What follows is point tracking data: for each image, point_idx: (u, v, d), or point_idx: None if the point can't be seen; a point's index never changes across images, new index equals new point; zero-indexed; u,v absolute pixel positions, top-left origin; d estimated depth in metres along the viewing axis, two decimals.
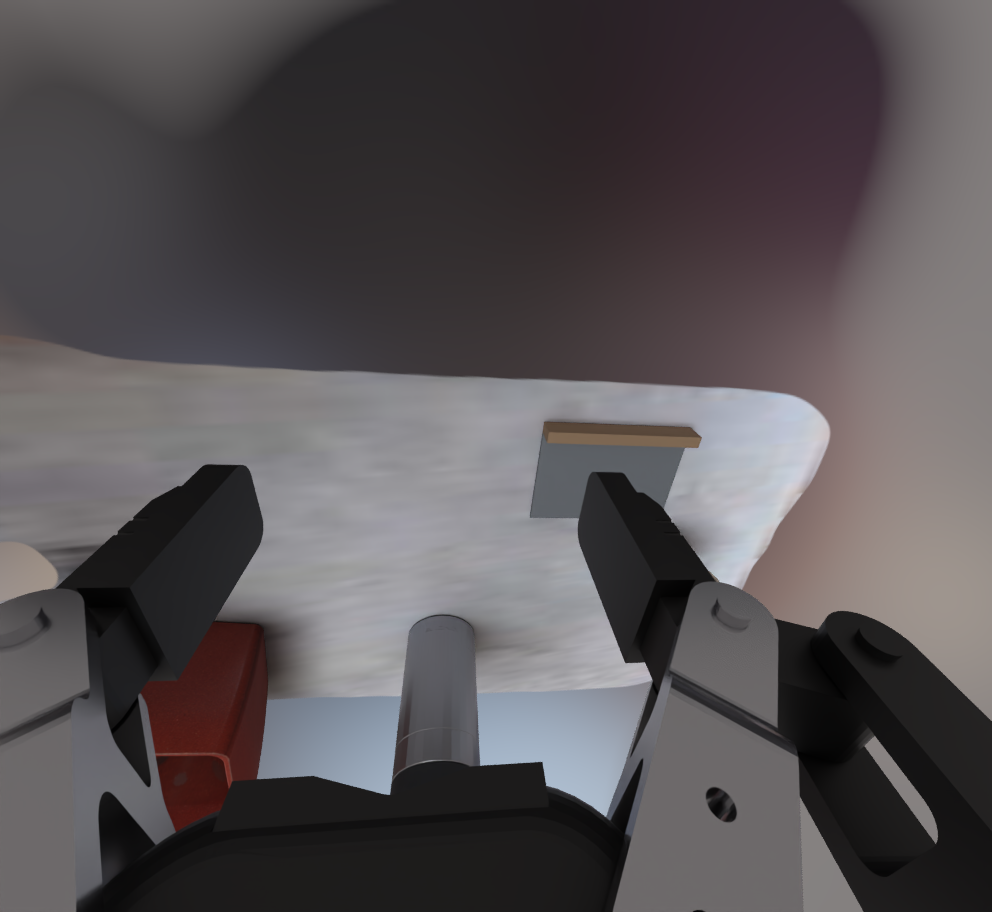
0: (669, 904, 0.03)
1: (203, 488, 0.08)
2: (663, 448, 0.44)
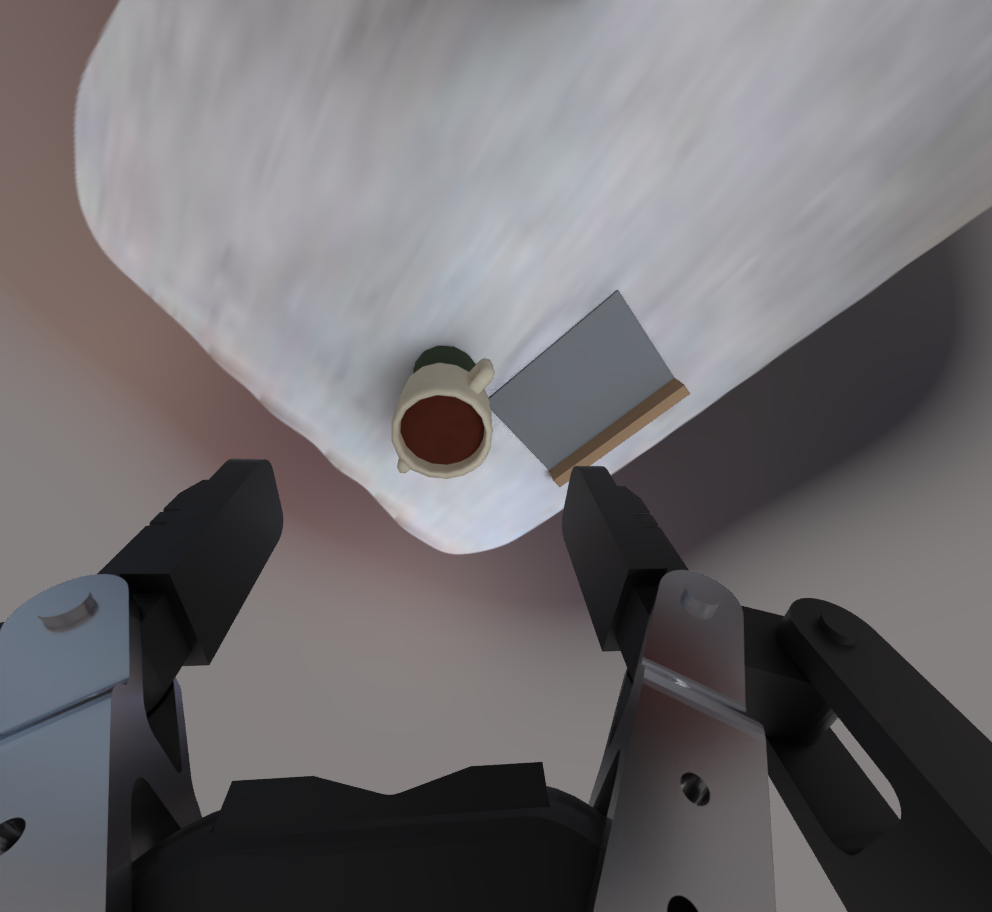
0: (649, 893, 0.03)
1: (230, 481, 0.08)
2: (559, 449, 0.44)
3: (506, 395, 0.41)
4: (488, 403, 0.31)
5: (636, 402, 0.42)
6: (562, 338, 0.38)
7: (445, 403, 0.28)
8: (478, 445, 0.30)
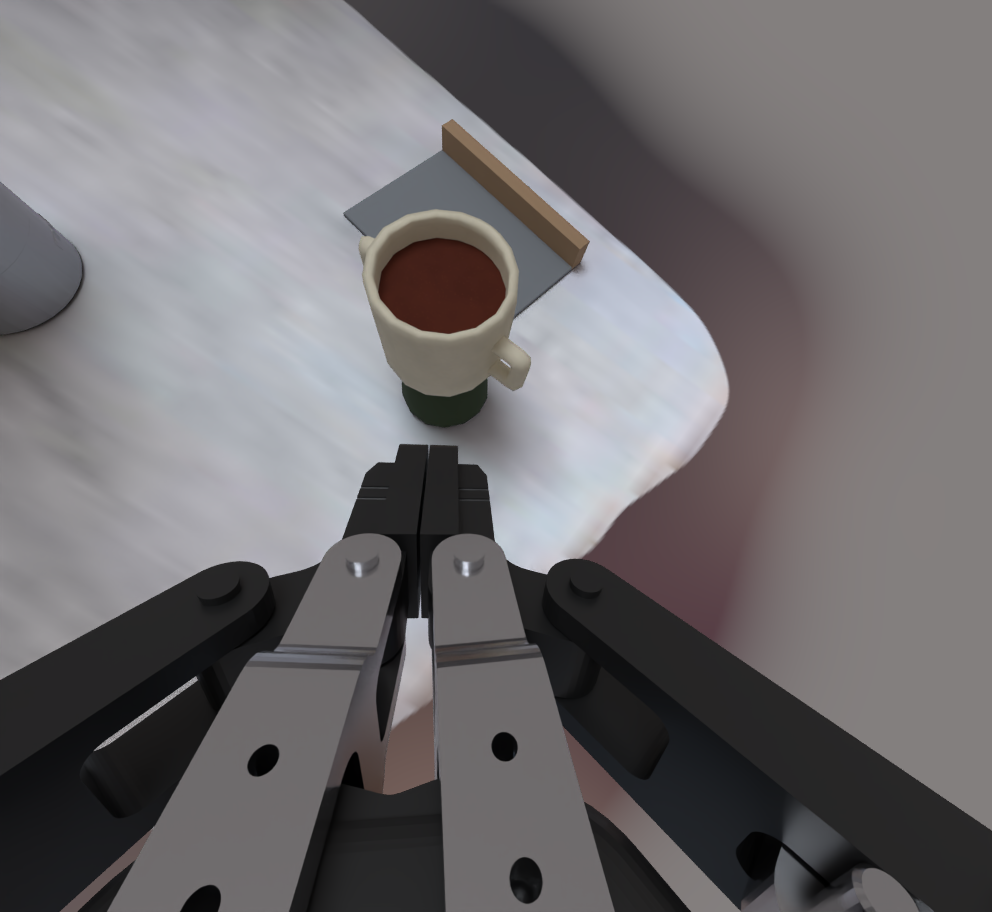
0: (492, 883, 0.03)
1: (413, 462, 0.09)
2: (540, 257, 0.34)
3: None
4: None
5: (473, 182, 0.36)
6: None
7: (401, 284, 0.19)
8: (471, 246, 0.20)
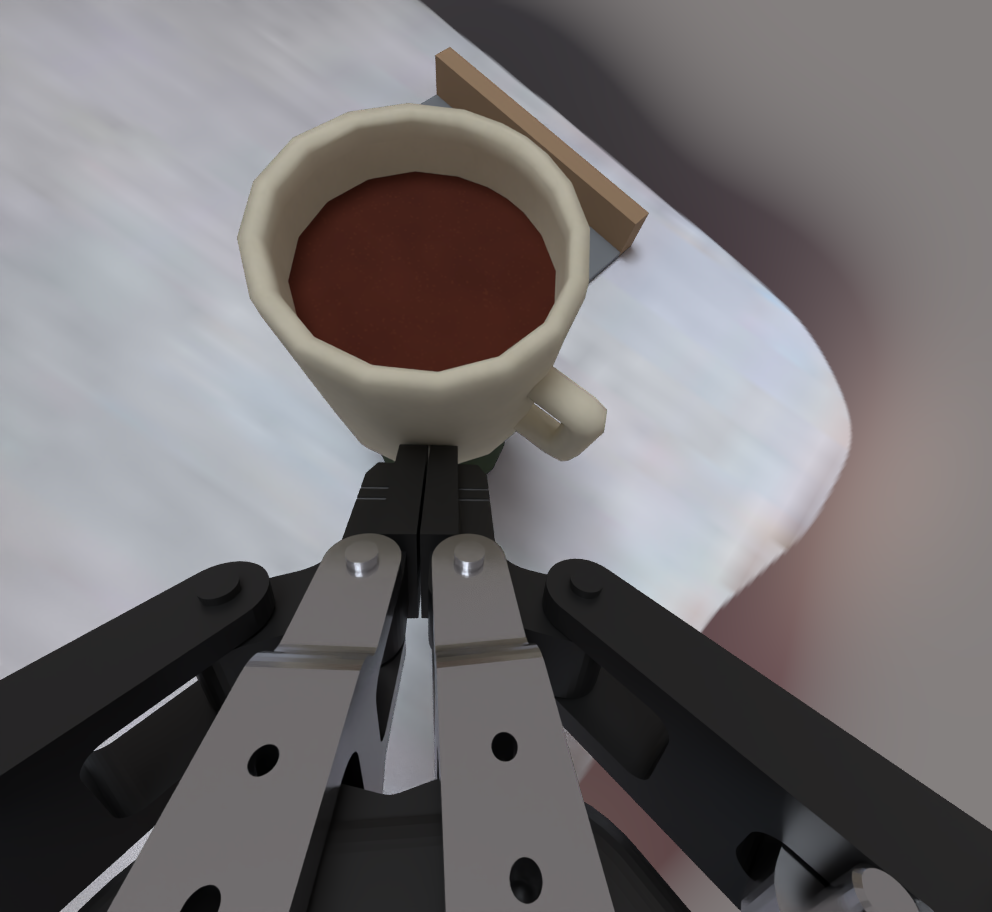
0: (492, 882, 0.03)
1: (413, 462, 0.09)
2: None
3: None
4: None
5: None
6: None
7: (339, 263, 0.09)
8: (483, 189, 0.10)
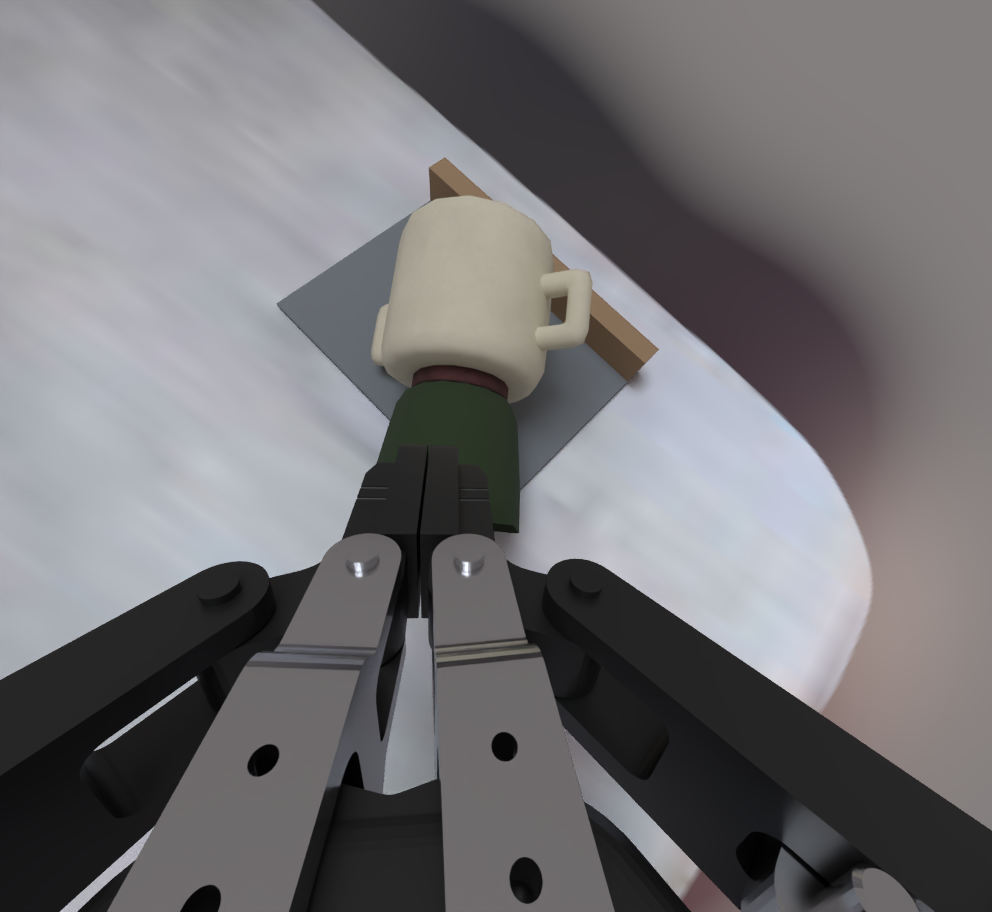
0: (492, 882, 0.03)
1: (413, 462, 0.09)
2: (580, 366, 0.23)
3: None
4: None
5: None
6: (357, 384, 0.21)
7: None
8: None
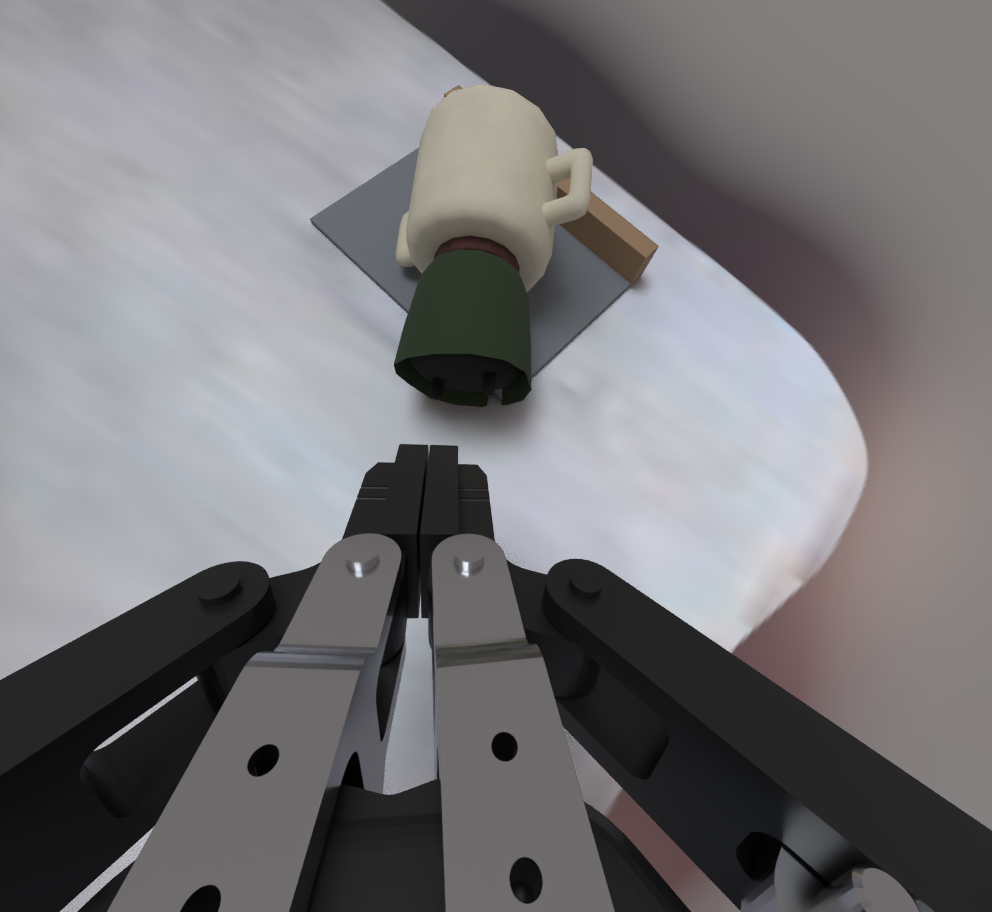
0: (492, 883, 0.03)
1: (413, 462, 0.09)
2: (586, 271, 0.24)
3: None
4: None
5: None
6: (383, 285, 0.23)
7: None
8: None
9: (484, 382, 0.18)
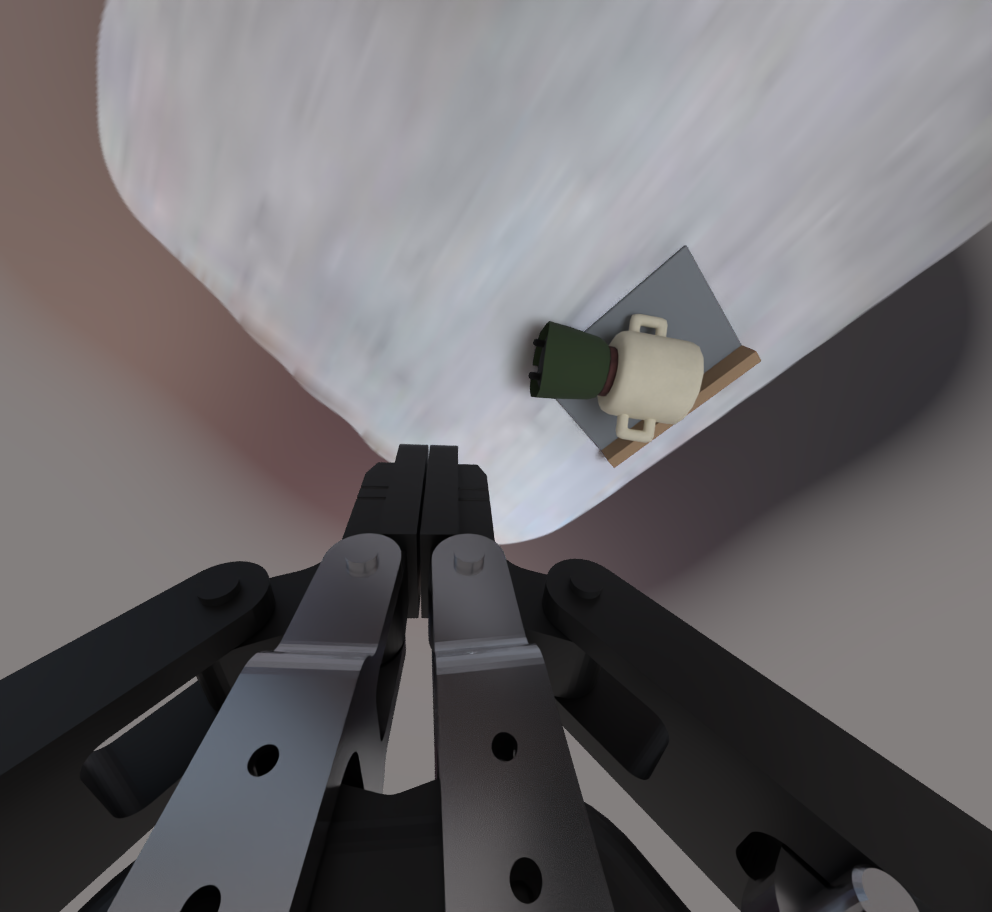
0: (492, 882, 0.03)
1: (413, 462, 0.09)
2: (613, 427, 0.41)
3: None
4: None
5: None
6: (622, 301, 0.35)
7: None
8: None
9: (534, 374, 0.33)
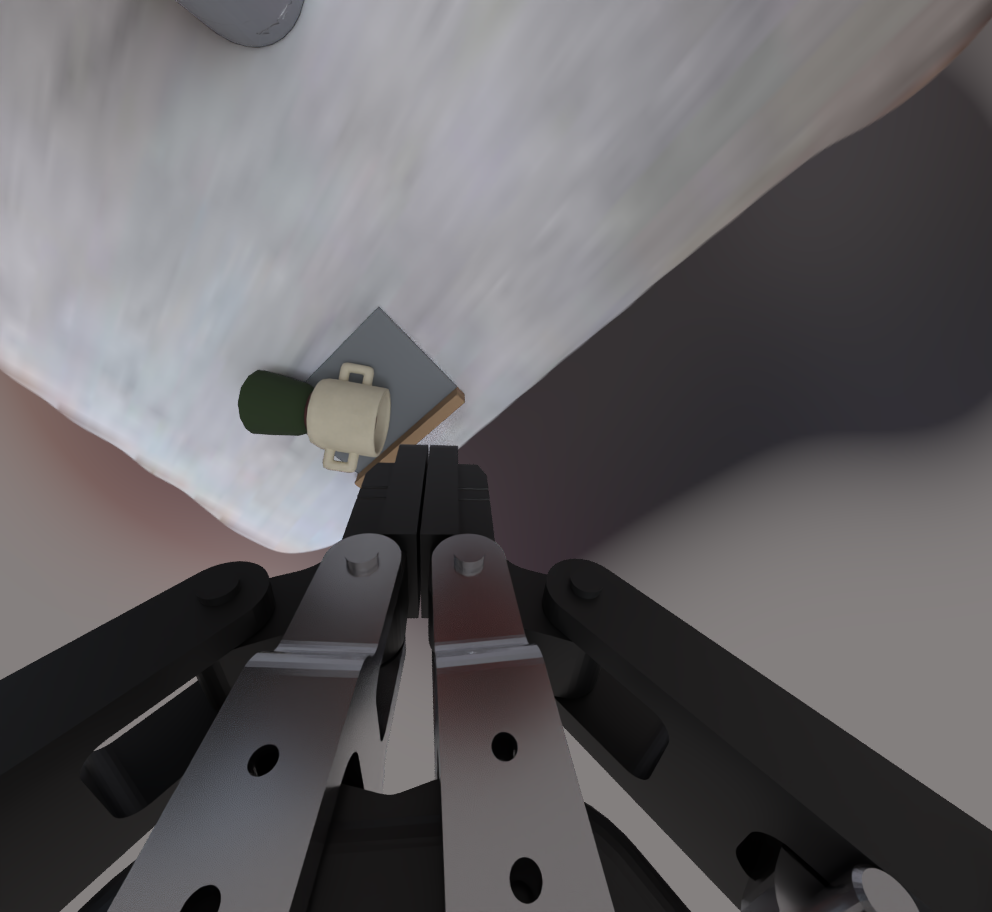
0: (491, 882, 0.03)
1: (413, 462, 0.09)
2: None
3: None
4: None
5: (426, 410, 0.45)
6: (336, 351, 0.41)
7: None
8: (376, 418, 0.44)
9: None
